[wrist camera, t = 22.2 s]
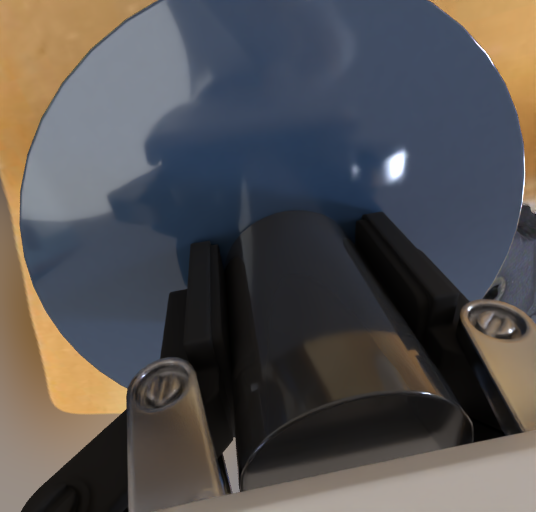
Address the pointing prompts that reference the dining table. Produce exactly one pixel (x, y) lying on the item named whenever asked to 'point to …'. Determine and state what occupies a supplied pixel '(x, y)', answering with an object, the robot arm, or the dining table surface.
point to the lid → (278, 208)
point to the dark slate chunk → (519, 268)
